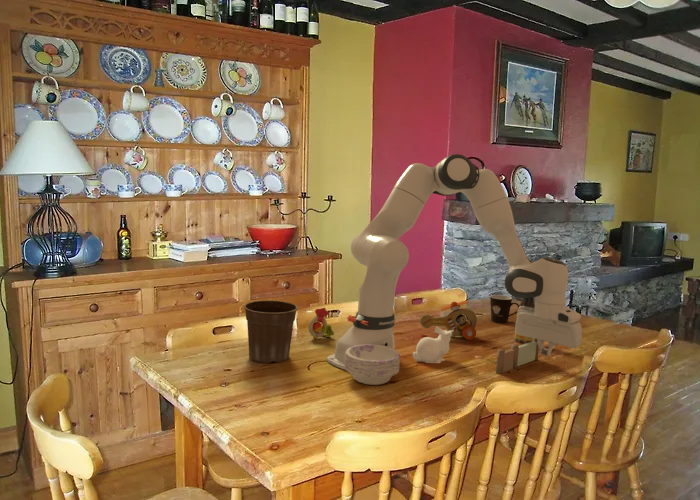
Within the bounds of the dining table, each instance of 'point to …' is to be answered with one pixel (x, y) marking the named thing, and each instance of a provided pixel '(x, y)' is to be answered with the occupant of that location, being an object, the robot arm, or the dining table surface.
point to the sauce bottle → (518, 338)
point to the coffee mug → (501, 308)
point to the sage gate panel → (528, 352)
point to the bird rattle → (317, 327)
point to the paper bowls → (372, 363)
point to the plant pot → (270, 329)
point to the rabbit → (433, 347)
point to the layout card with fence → (506, 359)
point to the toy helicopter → (454, 321)
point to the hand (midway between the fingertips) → (545, 354)
